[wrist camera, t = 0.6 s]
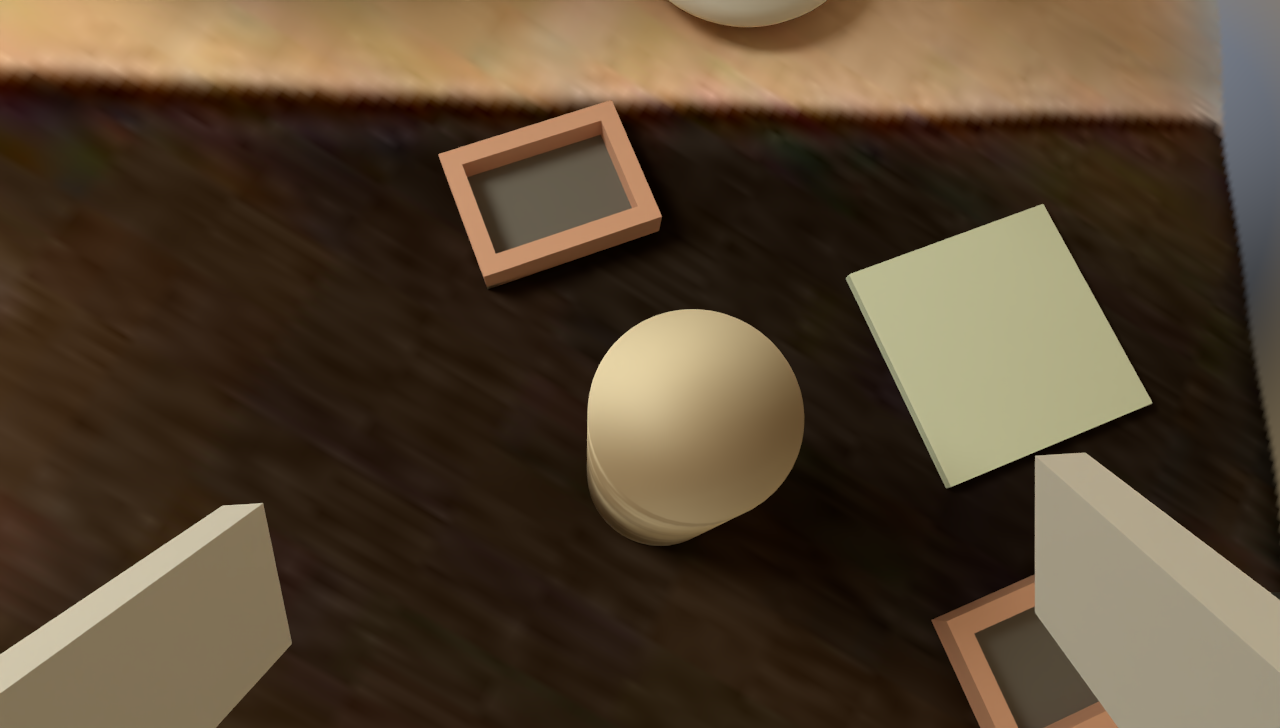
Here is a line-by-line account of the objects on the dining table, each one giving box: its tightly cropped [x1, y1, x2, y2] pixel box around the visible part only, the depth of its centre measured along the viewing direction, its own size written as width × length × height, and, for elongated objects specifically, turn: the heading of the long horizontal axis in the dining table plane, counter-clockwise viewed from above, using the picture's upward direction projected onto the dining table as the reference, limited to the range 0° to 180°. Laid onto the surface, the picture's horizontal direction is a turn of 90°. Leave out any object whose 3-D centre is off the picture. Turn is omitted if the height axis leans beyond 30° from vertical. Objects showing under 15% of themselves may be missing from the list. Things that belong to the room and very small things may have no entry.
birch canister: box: [587, 309, 804, 546], centre depth 29 cm, size 6×6×12 cm
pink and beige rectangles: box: [438, 100, 1152, 728], centre depth 35 cm, size 32×25×2 cm
